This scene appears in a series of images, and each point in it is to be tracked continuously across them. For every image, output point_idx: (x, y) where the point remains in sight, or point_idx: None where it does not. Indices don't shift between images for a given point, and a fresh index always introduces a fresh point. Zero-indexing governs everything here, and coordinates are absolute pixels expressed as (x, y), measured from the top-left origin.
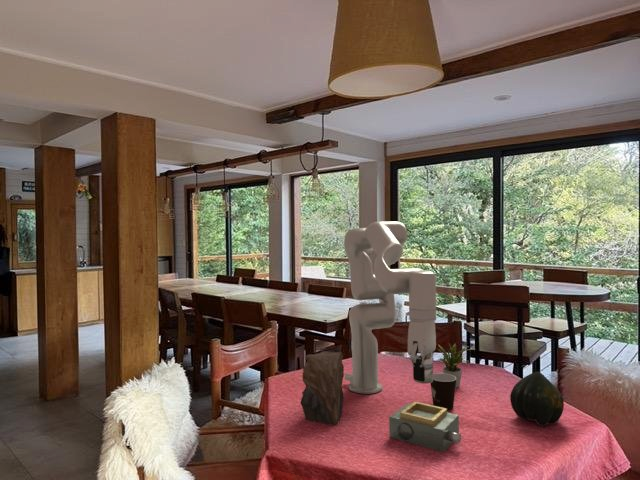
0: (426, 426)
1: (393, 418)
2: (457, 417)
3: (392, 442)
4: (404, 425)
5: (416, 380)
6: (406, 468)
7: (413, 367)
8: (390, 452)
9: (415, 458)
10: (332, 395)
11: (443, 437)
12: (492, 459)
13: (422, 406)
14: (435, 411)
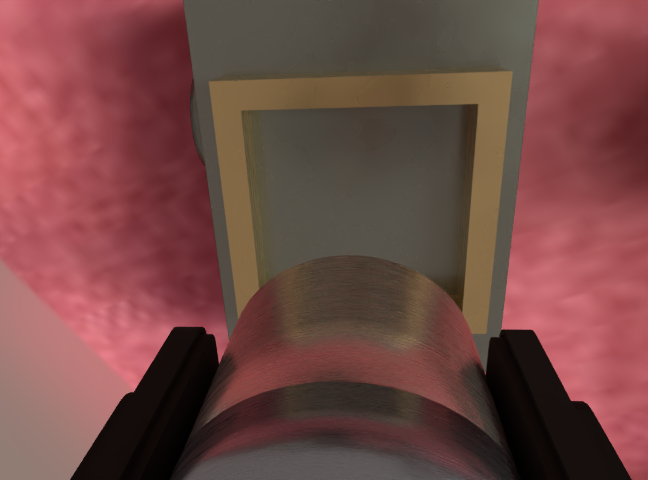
0: (220, 276)
1: (187, 29)
2: None
3: (183, 44)
4: (194, 127)
5: (232, 333)
6: (24, 228)
7: (87, 471)
8: (83, 95)
9: (124, 223)
10: None
11: None
12: None
13: (471, 153)
14: (460, 250)
